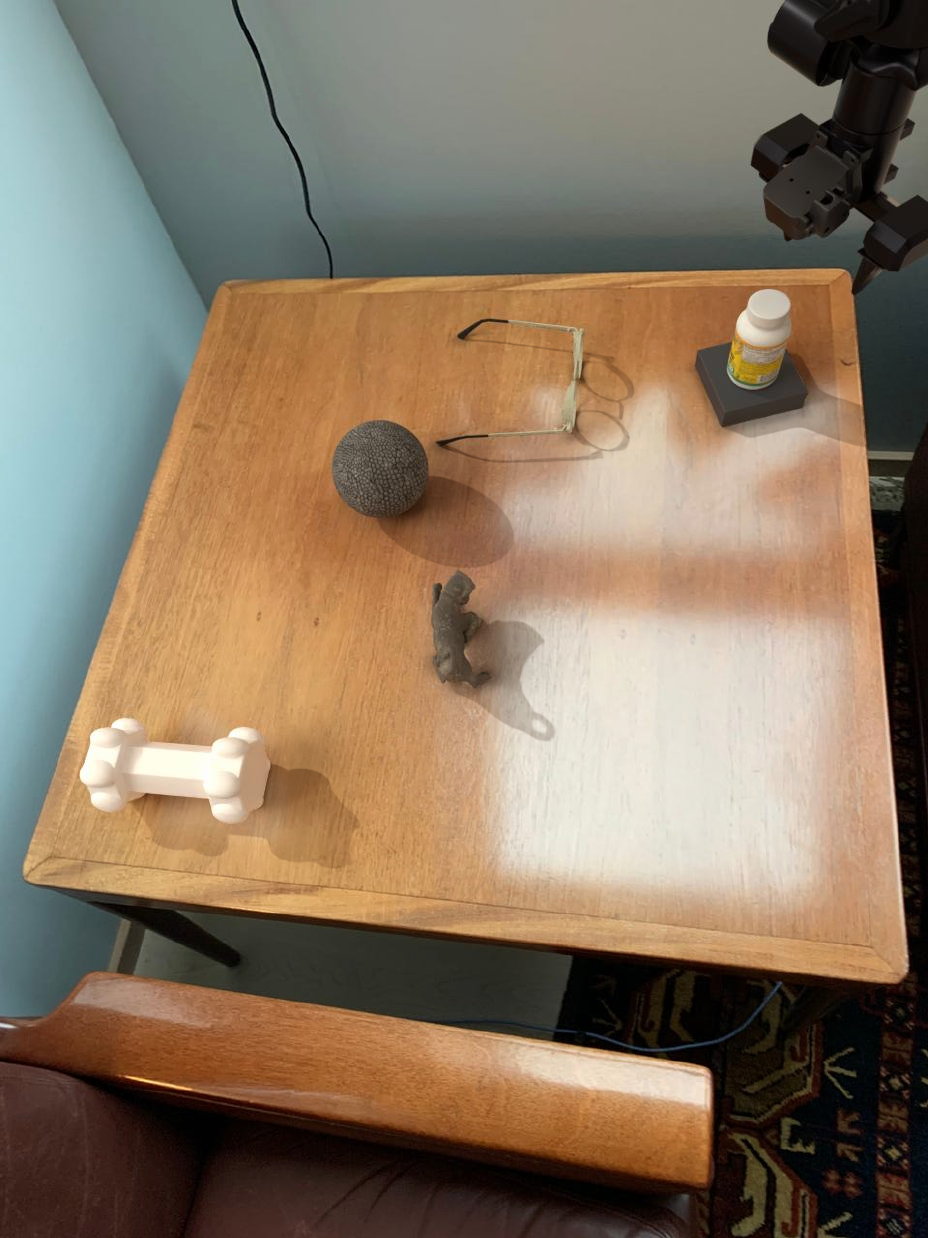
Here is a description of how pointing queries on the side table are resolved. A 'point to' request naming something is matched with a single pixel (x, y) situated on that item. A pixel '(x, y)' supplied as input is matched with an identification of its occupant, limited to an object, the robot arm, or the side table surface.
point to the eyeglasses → (571, 394)
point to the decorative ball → (380, 469)
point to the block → (745, 403)
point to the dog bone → (176, 769)
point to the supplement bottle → (760, 340)
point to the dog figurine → (454, 630)
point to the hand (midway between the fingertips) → (822, 265)
